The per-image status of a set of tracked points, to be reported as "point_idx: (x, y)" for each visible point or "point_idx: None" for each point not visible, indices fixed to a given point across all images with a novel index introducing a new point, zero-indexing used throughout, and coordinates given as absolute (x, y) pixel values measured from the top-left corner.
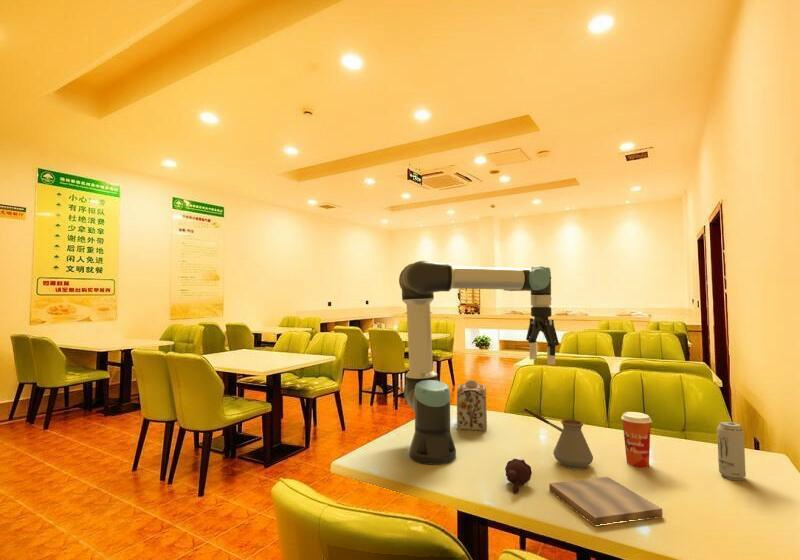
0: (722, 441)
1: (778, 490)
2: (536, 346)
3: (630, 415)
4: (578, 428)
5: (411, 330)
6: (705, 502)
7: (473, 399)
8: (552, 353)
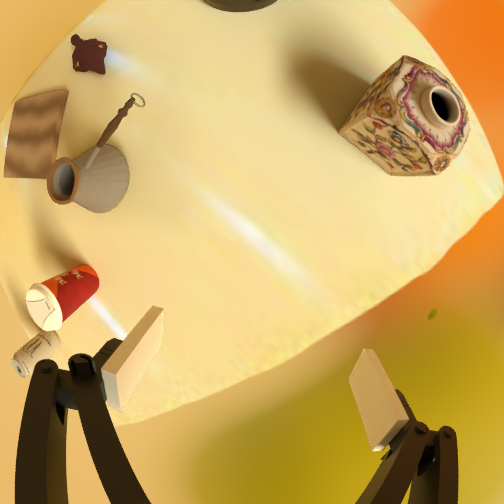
0: (26, 347)
1: (33, 336)
2: (366, 432)
3: (37, 298)
4: (53, 182)
5: None
6: (16, 246)
7: (381, 87)
8: (104, 348)
